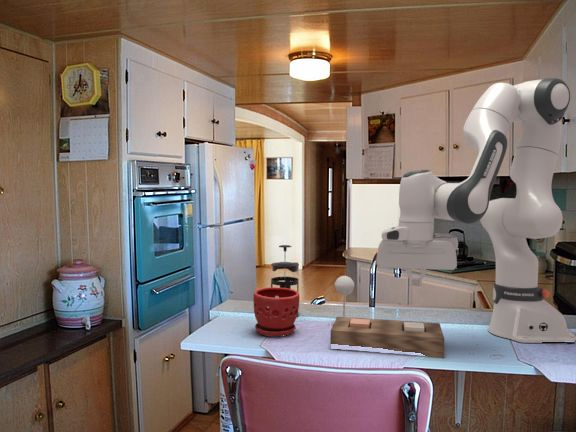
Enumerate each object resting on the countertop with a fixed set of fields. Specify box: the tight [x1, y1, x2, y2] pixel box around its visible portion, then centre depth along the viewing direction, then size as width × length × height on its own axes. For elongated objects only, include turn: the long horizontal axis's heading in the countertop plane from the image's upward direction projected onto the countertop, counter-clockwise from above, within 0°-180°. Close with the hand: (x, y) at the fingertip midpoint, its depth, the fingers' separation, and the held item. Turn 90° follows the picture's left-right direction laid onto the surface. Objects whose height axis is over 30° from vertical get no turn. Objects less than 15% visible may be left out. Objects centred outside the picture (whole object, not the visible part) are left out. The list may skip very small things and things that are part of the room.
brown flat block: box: [329, 316, 445, 359], centre depth 132 cm, size 28×14×5 cm, turn 78°
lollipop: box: [334, 275, 355, 317], centre depth 151 cm, size 6×6×15 cm
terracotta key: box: [350, 317, 370, 329], centre depth 133 cm, size 5×5×4 cm
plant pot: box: [252, 286, 300, 337], centre depth 142 cm, size 13×13×12 cm
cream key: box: [404, 321, 424, 332], centre depth 130 cm, size 5×5×4 cm
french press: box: [270, 244, 300, 319], centre depth 161 cm, size 12×9×23 cm
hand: (415, 285), depth 129 cm, fingers closed
